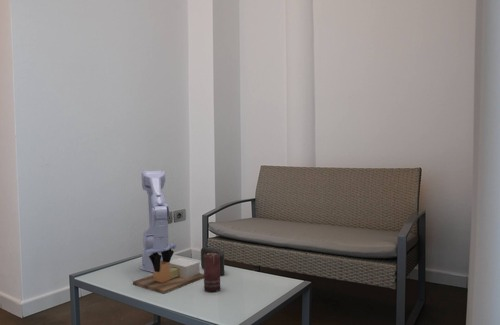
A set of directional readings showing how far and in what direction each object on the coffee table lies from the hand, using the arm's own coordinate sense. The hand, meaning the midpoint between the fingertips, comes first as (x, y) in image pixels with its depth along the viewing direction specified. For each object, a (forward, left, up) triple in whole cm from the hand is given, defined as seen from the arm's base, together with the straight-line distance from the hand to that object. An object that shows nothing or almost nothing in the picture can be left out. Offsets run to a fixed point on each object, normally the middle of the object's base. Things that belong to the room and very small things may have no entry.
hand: (161, 270), depth 162 cm
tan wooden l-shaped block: (0, +5, -4) cm, 7 cm away
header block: (0, +12, -4) cm, 12 cm away
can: (+21, +6, -6) cm, 23 cm away
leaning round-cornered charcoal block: (+6, +23, -6) cm, 25 cm away
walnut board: (0, +5, -6) cm, 7 cm away
